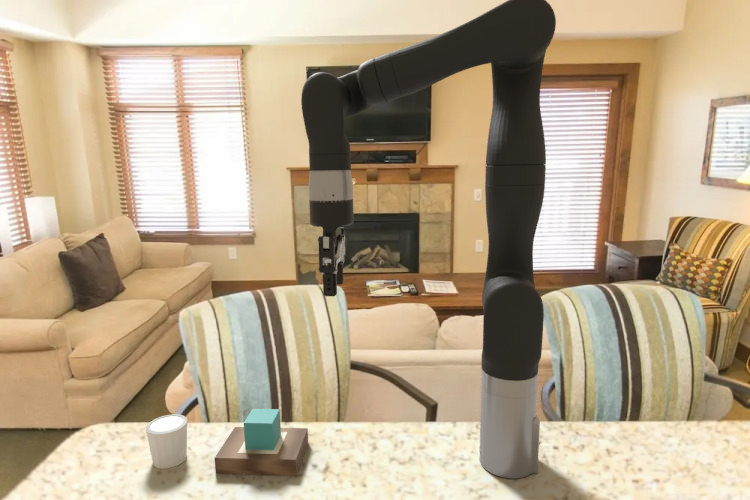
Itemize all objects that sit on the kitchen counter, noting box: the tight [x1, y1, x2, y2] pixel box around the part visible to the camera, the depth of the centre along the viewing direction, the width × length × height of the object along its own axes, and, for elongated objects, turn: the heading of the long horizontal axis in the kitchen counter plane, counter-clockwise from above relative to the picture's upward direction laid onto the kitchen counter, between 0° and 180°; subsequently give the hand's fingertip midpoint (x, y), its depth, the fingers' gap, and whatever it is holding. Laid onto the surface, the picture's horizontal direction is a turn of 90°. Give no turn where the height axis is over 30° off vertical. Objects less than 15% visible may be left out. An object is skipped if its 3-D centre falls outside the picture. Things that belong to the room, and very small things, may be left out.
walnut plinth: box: [214, 426, 309, 477], centre depth 86 cm, size 14×10×3 cm
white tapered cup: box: [145, 413, 188, 469], centre depth 86 cm, size 7×7×7 cm
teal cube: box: [243, 408, 282, 450], centre depth 86 cm, size 5×5×5 cm
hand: (334, 289), depth 85 cm, fingers open, 8 cm apart
